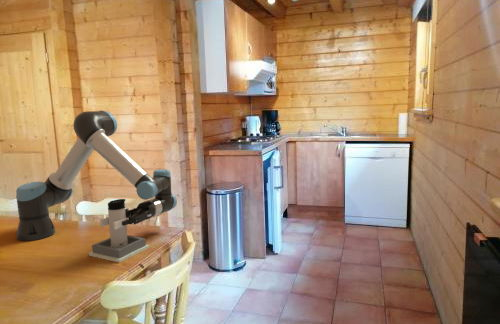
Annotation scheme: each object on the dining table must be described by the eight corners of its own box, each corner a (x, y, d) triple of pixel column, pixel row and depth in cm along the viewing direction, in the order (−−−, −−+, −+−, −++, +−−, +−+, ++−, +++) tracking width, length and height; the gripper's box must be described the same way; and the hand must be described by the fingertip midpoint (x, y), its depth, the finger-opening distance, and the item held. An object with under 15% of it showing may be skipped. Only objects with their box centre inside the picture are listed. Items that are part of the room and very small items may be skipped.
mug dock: (88, 255, 143) (88, 245, 143) (120, 241, 157) (119, 232, 157) (119, 262, 136) (118, 252, 135) (149, 247, 150) (148, 237, 150)
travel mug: (125, 251, 143) (121, 201, 140) (108, 252, 143) (104, 201, 141) (131, 245, 150) (127, 197, 147) (115, 246, 150) (111, 197, 147)
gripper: (167, 220, 157) (127, 237, 137) (132, 215, 166) (90, 230, 145) (166, 202, 156) (125, 218, 135) (131, 198, 164) (88, 212, 144)
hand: (107, 224), depth 140 cm, fingers open, 7 cm apart
